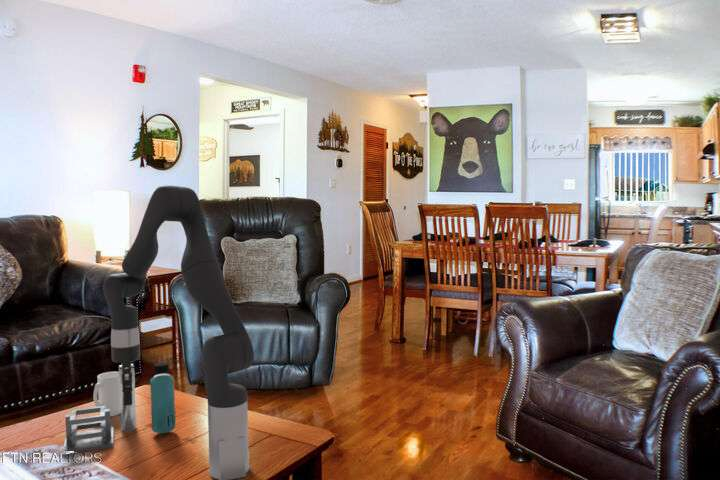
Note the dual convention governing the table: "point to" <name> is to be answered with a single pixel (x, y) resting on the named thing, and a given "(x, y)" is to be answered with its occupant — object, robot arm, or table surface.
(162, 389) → the beverage bottle
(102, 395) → the mug
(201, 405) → the table surface
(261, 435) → the table surface
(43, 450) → the table surface
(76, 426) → the collar stand
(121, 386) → the steel tube
